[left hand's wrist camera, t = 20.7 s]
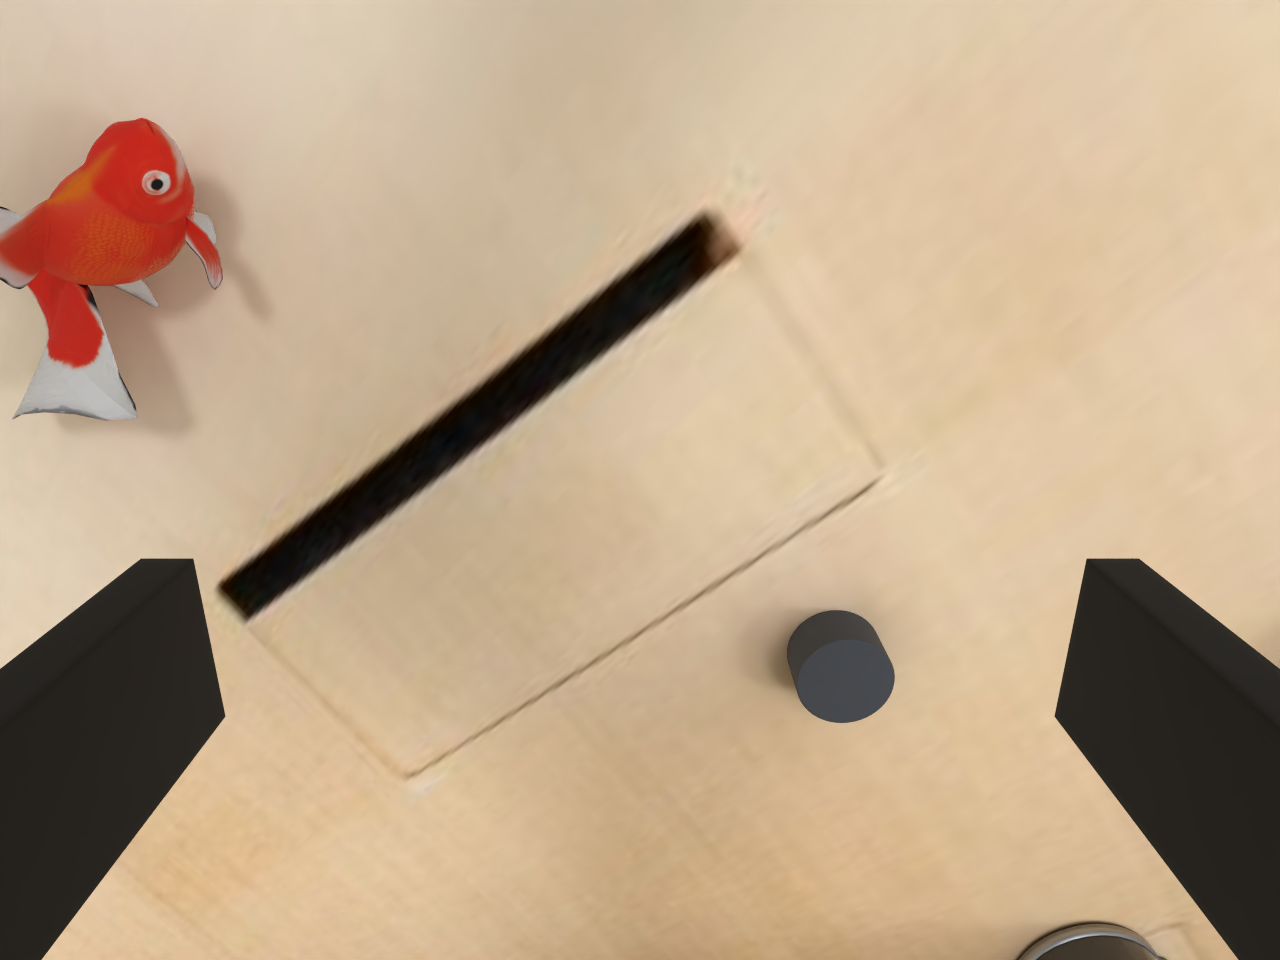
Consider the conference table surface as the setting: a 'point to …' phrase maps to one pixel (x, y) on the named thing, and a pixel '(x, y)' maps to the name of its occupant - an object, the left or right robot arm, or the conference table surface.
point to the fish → (101, 260)
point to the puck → (840, 667)
